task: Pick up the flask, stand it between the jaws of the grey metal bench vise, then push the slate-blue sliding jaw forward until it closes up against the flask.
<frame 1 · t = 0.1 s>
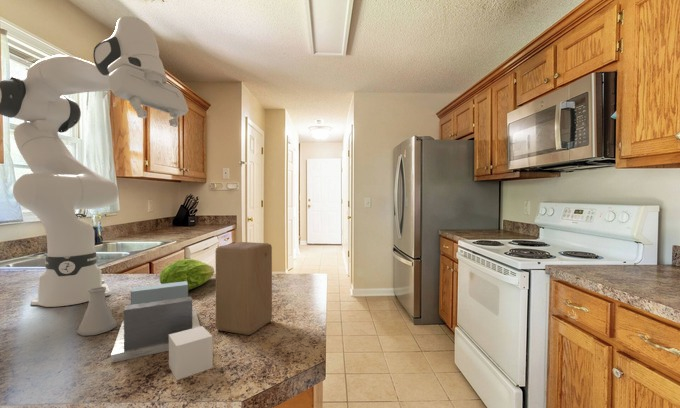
hand: (159, 121, 82), 52 cm above the countertop, tool tilted 20°, fingers open, 8 cm apart
wooden block: (245, 326, 75), on the countertop
sliding jaw: (160, 301, 76), point 6 cm above the countertop, slide at 0.0 cm
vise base: (160, 336, 69), on the countertop
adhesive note: (190, 368, 57), on the countertop
lettuce: (192, 287, 110), on the countertop
flask: (97, 331, 73), on the countertop
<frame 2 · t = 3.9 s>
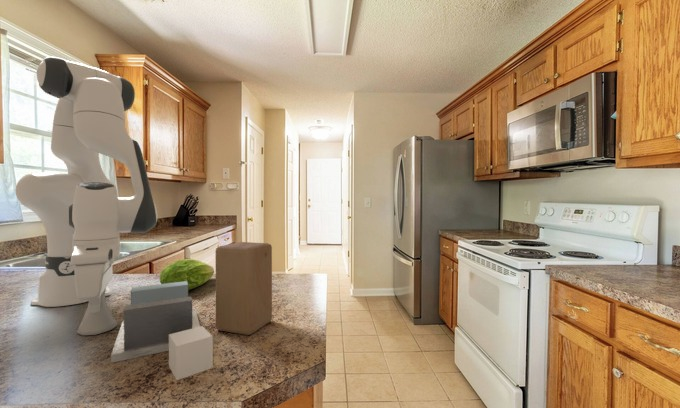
hand: (97, 308, 73), 5 cm above the countertop, tool pointing down, fingers closed on flask, 3 cm apart
flask: (97, 330, 73), on the countertop, touching gripper
everything else where it was.
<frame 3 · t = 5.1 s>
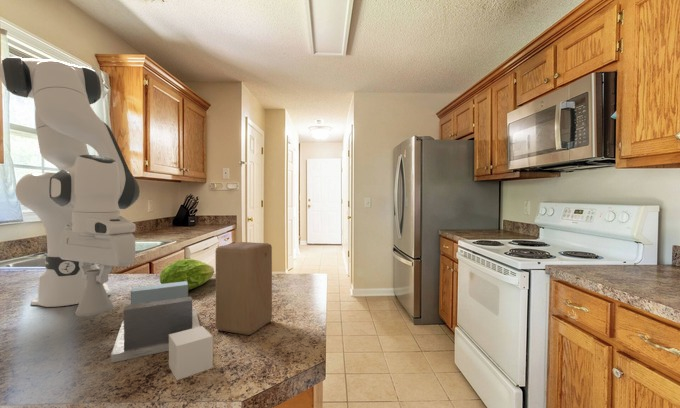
hand: (95, 281, 73), 12 cm above the countertop, tool pointing down, fingers closed on flask, 3 cm apart
flask: (94, 312, 73), point 4 cm above the countertop, touching gripper
everything else where it was.
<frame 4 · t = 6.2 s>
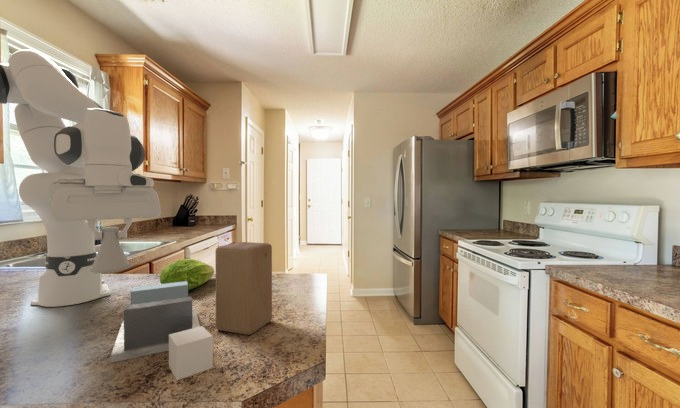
hand: (111, 239, 71), 22 cm above the countertop, tool pointing down, fingers closed on flask, 3 cm apart
flask: (111, 271, 71), point 14 cm above the countertop, touching gripper
everything else where it was.
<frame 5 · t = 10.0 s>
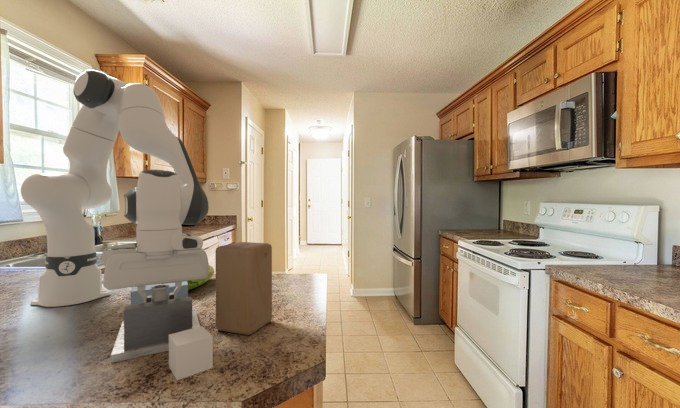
hand: (160, 303, 69), 8 cm above the countertop, tool pointing down, fingers closed on flask, 3 cm apart
flask: (160, 331, 69), point 1 cm above the countertop, touching gripper, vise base
everything else where it was.
when the fingers open (8 cm above the countertop, at t = 10.0 s): flask stays where it is, resting on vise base.
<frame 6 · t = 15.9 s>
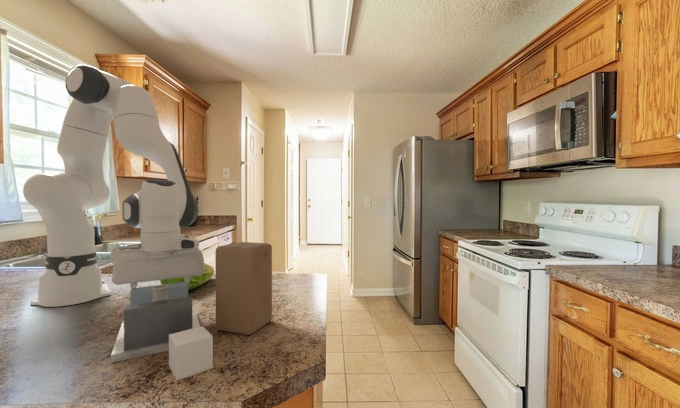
hand: (161, 296, 78), 6 cm above the countertop, tool pointing down, fingers open, 8 cm apart
sliding jaw: (160, 302, 76), point 6 cm above the countertop, slide at 0.8 cm, touching gripper
flask: (160, 331, 69), point 1 cm above the countertop, touching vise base
everything else where it was.
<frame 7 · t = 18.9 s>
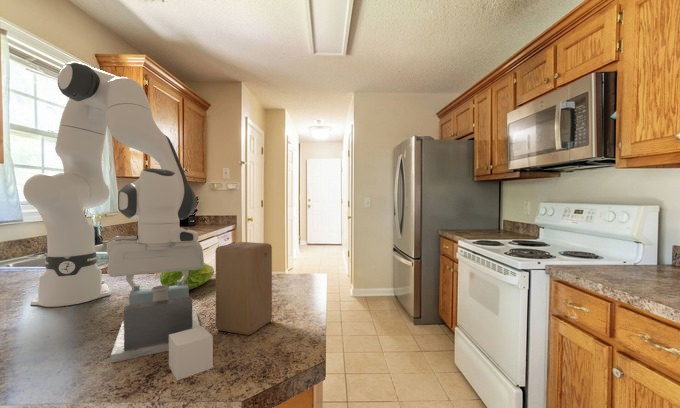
hand: (158, 290, 76), 9 cm above the countertop, tool pointing down, fingers open, 8 cm apart
sliding jaw: (160, 305, 73), point 6 cm above the countertop, slide at 3.4 cm, touching gripper, flask
flask: (160, 332, 68), point 1 cm above the countertop, touching sliding jaw, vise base
everything else where it was.
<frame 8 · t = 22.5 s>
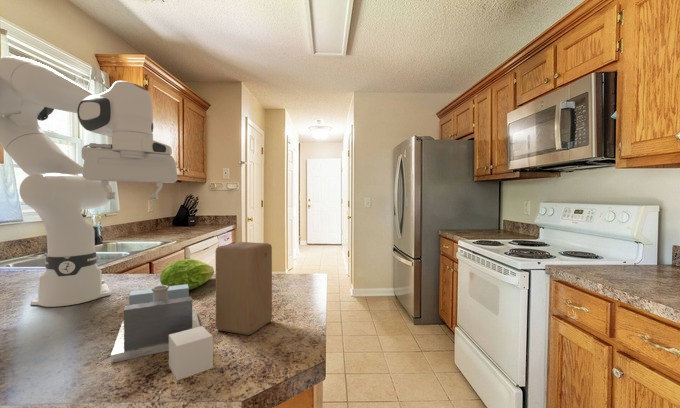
hand: (133, 199, 79), 31 cm above the countertop, tool pointing down, fingers open, 8 cm apart
sliding jaw: (160, 305, 73), point 6 cm above the countertop, slide at 3.4 cm
flask: (160, 332, 68), point 1 cm above the countertop, touching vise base
everything else where it was.
at the end: sliding jaw slide at 3.4 cm; flask 0.2 cm from the target spot on the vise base, point 1.3 cm above the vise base's base; flask tilted 0° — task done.
